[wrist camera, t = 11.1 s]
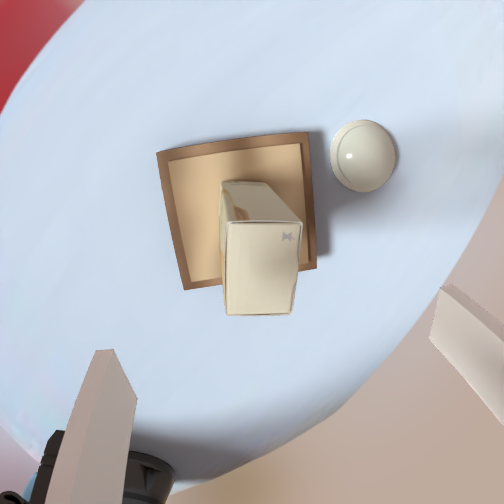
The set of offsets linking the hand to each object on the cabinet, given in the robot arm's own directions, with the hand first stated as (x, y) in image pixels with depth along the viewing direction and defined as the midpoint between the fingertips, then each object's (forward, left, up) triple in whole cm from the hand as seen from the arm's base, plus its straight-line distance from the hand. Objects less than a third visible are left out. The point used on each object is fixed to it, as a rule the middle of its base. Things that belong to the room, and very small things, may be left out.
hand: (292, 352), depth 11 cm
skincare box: (0, 0, -20) cm, 20 cm away
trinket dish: (+14, +4, -23) cm, 27 cm away
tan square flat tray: (0, 0, -22) cm, 22 cm away
